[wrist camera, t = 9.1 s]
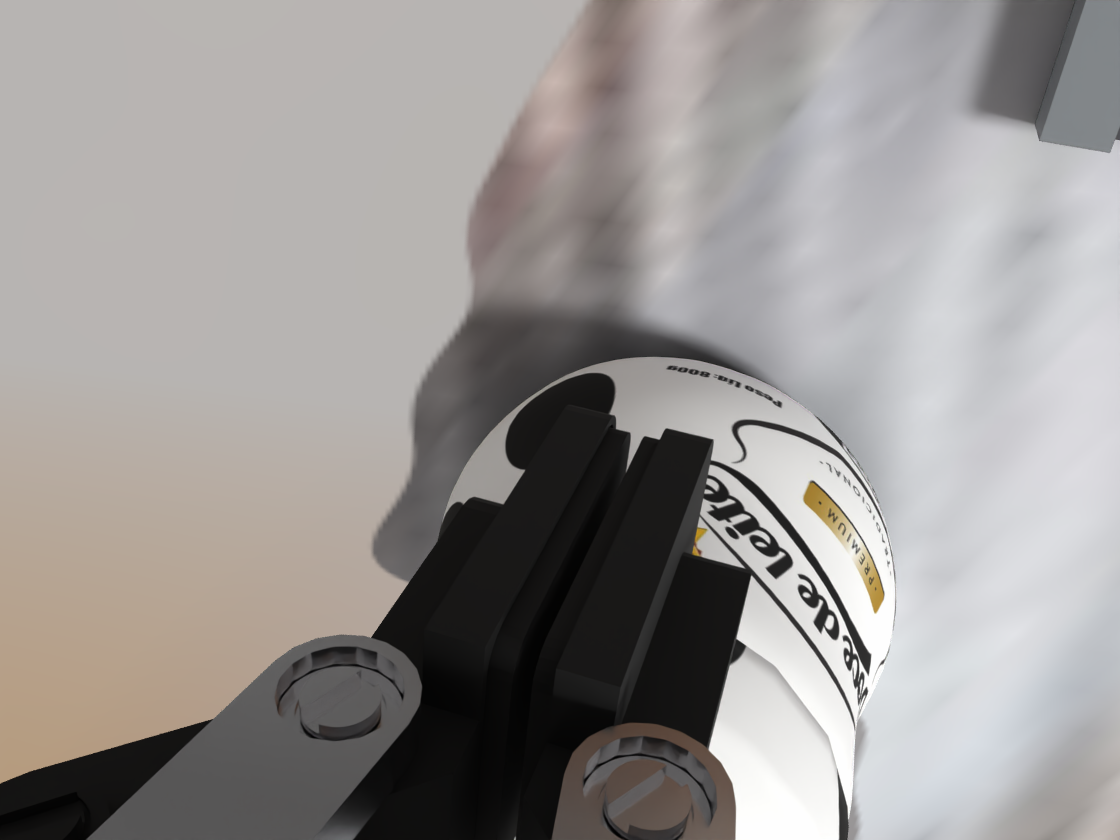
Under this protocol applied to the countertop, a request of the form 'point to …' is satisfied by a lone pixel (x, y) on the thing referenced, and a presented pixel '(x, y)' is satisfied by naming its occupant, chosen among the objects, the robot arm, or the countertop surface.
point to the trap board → (1085, 81)
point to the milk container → (753, 570)
